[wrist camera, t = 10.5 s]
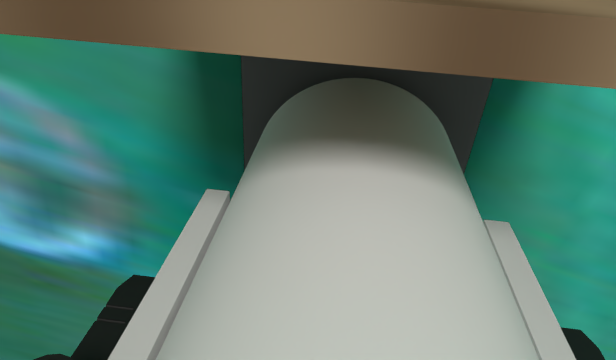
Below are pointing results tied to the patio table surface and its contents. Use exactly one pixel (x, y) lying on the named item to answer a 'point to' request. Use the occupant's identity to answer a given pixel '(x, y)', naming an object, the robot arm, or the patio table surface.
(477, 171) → the patio table surface
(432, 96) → the mat
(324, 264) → the cup
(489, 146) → the patio table surface
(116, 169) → the patio table surface
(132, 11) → the rack
